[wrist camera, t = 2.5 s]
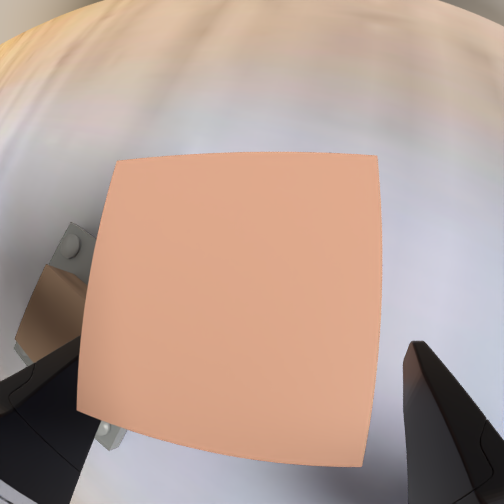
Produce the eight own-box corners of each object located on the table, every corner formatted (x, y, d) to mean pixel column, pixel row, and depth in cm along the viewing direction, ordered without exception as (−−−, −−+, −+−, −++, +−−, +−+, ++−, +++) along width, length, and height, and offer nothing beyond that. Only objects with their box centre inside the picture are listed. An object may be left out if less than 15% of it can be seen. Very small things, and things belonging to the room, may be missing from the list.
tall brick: (325, 373, 17) (361, 467, 4) (240, 365, 18) (76, 410, 5) (332, 287, 18) (377, 155, 5) (248, 282, 19) (116, 160, 6)
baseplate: (118, 446, 18) (105, 452, 16) (23, 349, 21) (10, 348, 20) (196, 304, 19) (186, 301, 18) (80, 226, 23) (68, 220, 21)
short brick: (92, 392, 18) (63, 396, 15) (43, 341, 20) (14, 338, 17) (129, 319, 19) (101, 314, 16) (73, 273, 20) (46, 264, 18)
